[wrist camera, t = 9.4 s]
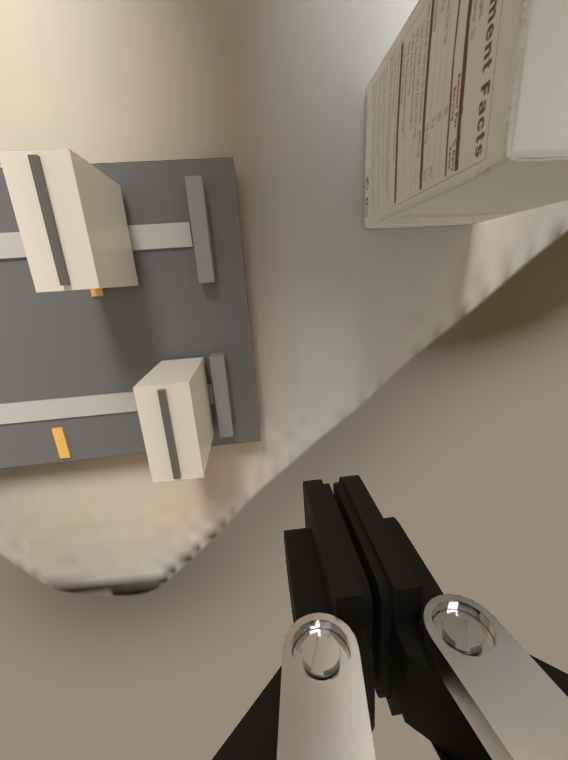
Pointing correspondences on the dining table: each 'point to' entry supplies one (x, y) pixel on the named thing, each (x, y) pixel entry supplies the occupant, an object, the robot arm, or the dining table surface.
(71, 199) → the block
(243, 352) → the console
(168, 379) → the block
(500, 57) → the supplement box
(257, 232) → the dining table surface
